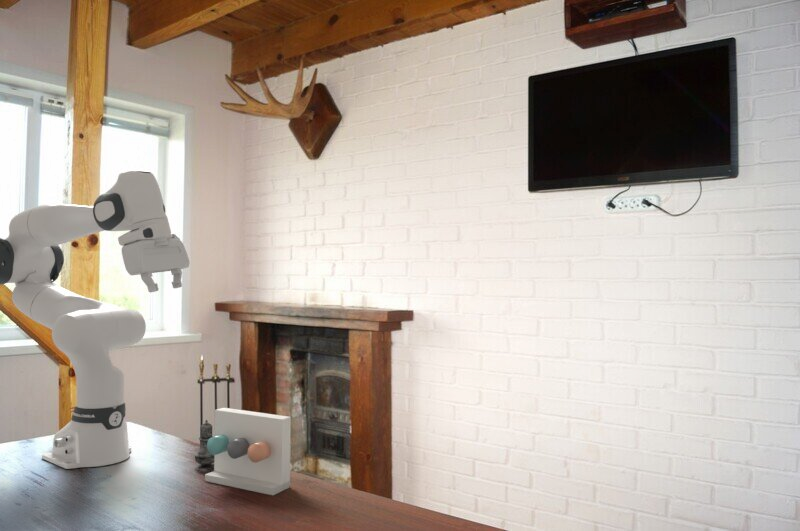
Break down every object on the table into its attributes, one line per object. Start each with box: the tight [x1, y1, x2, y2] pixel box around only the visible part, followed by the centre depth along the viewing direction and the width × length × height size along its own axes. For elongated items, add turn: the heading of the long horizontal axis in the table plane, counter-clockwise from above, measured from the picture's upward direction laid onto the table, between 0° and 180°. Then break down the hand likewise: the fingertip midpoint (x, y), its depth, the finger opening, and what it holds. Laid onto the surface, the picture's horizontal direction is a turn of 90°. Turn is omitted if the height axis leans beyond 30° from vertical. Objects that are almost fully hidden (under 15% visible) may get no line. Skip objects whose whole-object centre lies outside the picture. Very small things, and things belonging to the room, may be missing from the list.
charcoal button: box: [227, 438, 250, 459], centre depth 142 cm, size 4×3×4 cm
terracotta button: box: [248, 441, 271, 463], centre depth 139 cm, size 4×3×4 cm
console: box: [204, 407, 292, 496], centre depth 145 cm, size 20×6×16 cm, turn 63°
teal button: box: [207, 434, 229, 455], centre depth 145 cm, size 4×3×4 cm
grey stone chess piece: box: [193, 419, 214, 472], centre depth 157 cm, size 6×6×12 cm
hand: (166, 289), depth 152 cm, fingers open, 8 cm apart
